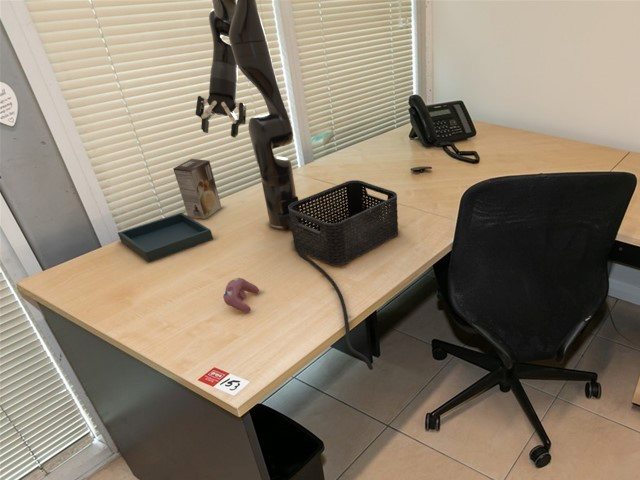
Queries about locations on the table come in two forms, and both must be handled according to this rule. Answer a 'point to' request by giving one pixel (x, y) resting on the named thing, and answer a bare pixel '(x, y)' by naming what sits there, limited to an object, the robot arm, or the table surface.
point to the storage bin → (343, 222)
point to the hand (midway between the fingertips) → (219, 134)
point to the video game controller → (238, 294)
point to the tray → (165, 236)
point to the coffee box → (197, 188)
